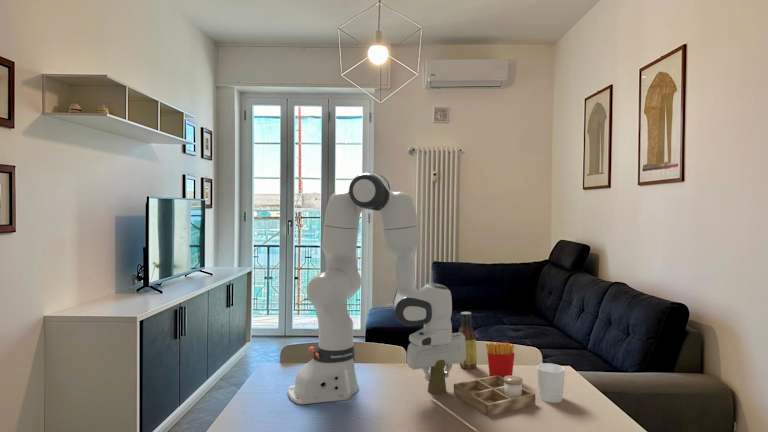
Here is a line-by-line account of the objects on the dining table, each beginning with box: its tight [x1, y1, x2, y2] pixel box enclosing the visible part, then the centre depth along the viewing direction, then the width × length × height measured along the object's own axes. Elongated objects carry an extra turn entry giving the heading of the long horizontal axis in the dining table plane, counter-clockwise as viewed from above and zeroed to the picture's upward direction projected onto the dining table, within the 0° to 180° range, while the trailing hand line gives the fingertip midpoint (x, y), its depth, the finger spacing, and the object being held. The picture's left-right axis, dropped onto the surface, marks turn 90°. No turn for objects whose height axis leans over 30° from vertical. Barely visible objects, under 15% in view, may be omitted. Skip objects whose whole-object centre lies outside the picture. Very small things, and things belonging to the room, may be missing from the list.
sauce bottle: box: [458, 311, 478, 370], centre depth 172 cm, size 7×6×20 cm
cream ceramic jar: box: [504, 374, 523, 398], centre depth 140 cm, size 5×5×7 cm
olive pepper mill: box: [427, 360, 447, 396], centre depth 148 cm, size 6×6×11 cm
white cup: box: [536, 362, 566, 404], centre depth 142 cm, size 8×8×10 cm
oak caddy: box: [453, 375, 536, 417], centre depth 142 cm, size 17×17×4 cm
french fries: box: [485, 342, 515, 378], centre depth 158 cm, size 9×4×13 cm, turn 86°
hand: (437, 378), depth 148 cm, fingers closed on olive pepper mill, 5 cm apart
